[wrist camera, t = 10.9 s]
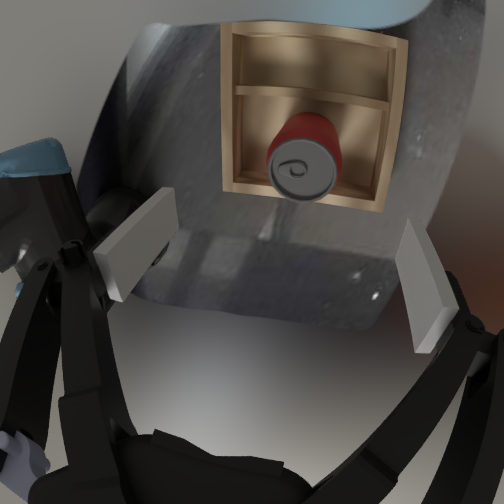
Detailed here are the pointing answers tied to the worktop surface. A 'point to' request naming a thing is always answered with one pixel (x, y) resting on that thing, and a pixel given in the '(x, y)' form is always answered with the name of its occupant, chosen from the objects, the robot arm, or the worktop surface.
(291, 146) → the beer can
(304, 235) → the worktop surface
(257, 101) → the crate
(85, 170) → the worktop surface
